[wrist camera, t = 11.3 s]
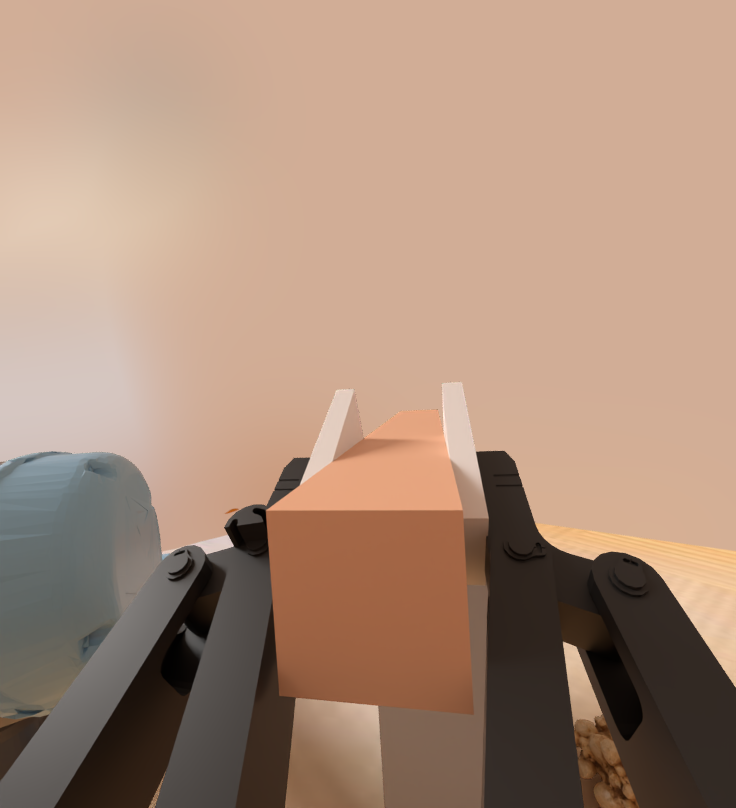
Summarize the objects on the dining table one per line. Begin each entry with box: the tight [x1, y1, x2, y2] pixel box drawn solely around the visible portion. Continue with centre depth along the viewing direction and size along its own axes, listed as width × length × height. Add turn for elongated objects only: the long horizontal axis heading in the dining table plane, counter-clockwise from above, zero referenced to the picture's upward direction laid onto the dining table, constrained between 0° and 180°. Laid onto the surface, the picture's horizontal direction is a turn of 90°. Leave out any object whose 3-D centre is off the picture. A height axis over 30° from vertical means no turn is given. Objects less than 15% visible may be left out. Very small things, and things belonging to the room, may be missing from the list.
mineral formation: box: [574, 714, 639, 808], centre depth 38 cm, size 8×13×15 cm
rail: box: [266, 409, 474, 715], centre depth 20 cm, size 28×4×4 cm, turn 170°
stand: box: [378, 583, 488, 808], centre depth 40 cm, size 18×12×30 cm, turn 170°
